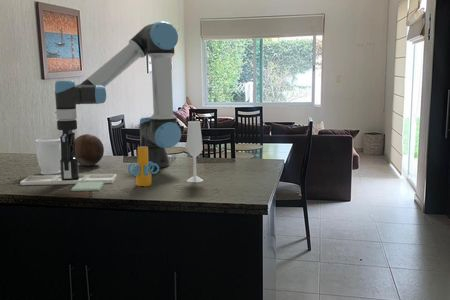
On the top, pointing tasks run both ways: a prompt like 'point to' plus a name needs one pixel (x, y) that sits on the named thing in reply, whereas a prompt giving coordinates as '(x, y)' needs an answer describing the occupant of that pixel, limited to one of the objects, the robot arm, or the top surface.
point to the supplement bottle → (73, 168)
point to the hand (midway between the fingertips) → (70, 176)
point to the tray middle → (59, 181)
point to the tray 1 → (38, 180)
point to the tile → (87, 186)
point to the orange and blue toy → (143, 168)
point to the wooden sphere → (88, 149)
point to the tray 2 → (100, 178)
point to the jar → (49, 155)
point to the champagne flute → (194, 145)
